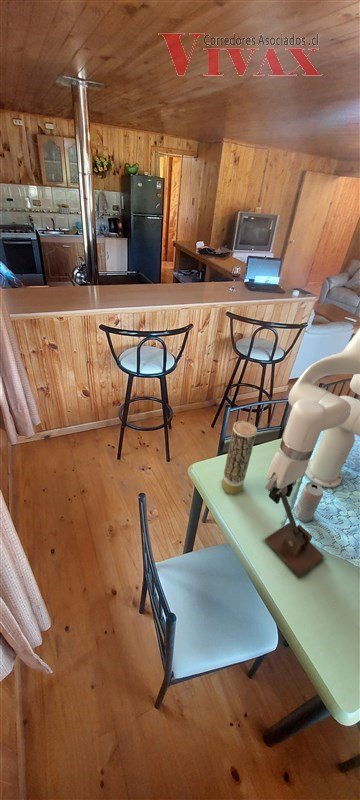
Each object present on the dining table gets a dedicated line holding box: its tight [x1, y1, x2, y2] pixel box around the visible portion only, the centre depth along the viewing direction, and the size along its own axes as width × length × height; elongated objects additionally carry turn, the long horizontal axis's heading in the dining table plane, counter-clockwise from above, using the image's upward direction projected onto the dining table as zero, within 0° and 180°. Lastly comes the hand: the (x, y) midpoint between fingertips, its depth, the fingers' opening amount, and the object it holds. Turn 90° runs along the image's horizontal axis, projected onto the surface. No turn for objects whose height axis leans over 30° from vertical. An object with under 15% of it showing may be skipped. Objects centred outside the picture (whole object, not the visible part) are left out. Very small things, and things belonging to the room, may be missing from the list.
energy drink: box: [294, 481, 324, 523], centre depth 98 cm, size 5×5×12 cm
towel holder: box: [264, 522, 325, 579], centre depth 89 cm, size 12×10×7 cm
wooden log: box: [221, 420, 258, 495], centre depth 102 cm, size 7×7×25 cm
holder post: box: [275, 484, 306, 545], centre depth 89 cm, size 17×4×4 cm
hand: (279, 496), depth 90 cm, fingers closed on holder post, 3 cm apart
